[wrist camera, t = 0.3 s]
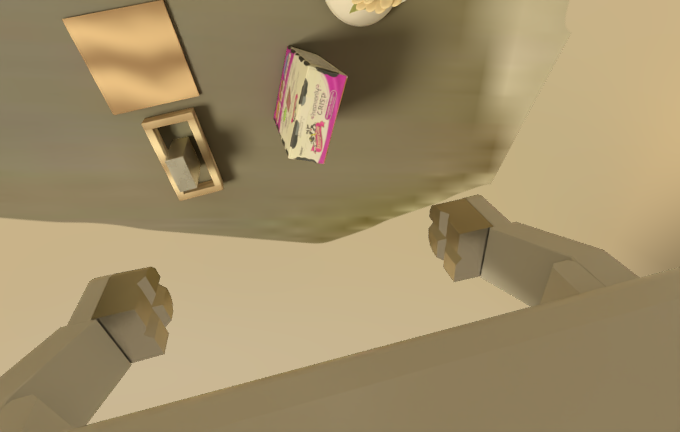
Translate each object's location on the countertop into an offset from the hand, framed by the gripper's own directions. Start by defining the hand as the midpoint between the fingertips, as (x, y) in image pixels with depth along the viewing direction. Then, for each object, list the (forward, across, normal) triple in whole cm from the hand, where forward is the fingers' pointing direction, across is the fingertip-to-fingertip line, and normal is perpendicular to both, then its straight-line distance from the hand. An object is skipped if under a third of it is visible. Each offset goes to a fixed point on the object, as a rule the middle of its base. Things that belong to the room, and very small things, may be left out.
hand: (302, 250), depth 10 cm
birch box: (+47, +14, +15) cm, 52 cm away
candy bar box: (+48, -4, +8) cm, 49 cm away
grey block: (+47, +14, +15) cm, 52 cm away
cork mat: (+47, +16, +1) cm, 50 cm away
